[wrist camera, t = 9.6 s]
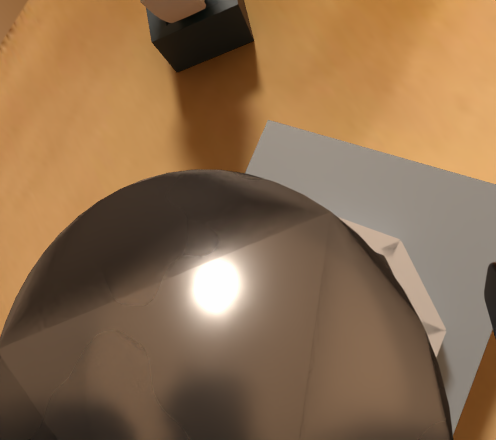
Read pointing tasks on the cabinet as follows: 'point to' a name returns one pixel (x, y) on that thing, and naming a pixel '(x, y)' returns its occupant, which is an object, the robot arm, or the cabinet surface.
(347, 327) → the lens
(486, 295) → the robot arm
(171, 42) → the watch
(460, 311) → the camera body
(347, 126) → the cabinet surface
